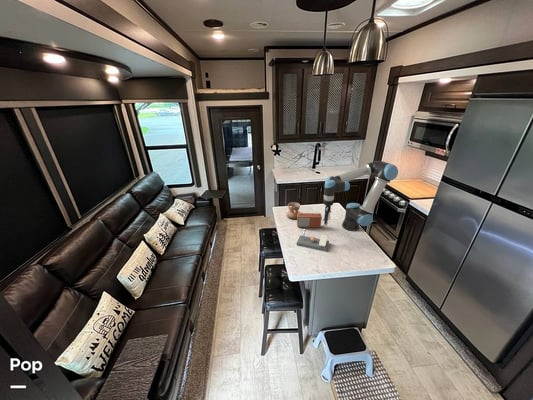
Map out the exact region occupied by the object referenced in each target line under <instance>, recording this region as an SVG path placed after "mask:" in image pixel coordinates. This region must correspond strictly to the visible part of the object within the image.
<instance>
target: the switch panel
mask: <svg viewBox="0 0 533 400" xmlns="http://www.w3.org/2000/svg"><path fill="white" fill-rule="evenodd" d="M311 237H312V236H311ZM311 237H310V236H306V235H304V239H303V235H299V237H298V238H297V241H296V246H298V247H303V248H309V249H313V250H316V251H322V252H327V251H328V247H329V244H330V240H327V241H326V246H325V247H322V246H319V242H320V238H316V237H315V238H316V241H314V242H313V241H311Z"/></svg>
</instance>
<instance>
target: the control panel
mask: <svg viewBox="0 0 533 400" xmlns="http://www.w3.org/2000/svg"><path fill="white" fill-rule="evenodd" d="M322 218H323V217H322V213H320V212H314V213H312V212H310V213H309V212H300V213H298V214H297V219H296V227H297V228H321V226H322Z"/></svg>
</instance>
